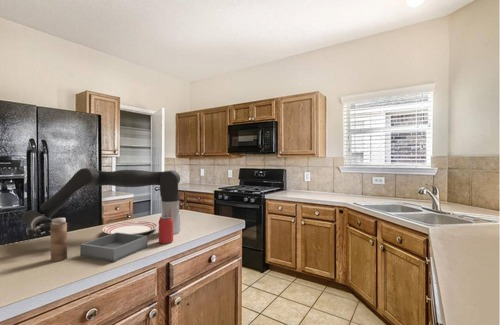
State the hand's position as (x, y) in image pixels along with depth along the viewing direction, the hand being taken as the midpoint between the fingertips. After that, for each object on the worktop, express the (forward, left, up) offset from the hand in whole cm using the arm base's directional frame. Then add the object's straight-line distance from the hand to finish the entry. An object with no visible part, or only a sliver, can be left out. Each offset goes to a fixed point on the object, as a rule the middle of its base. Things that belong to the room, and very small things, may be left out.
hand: (52, 231), depth 108 cm
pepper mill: (+3, +9, -9) cm, 13 cm away
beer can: (-29, +35, -10) cm, 46 cm away
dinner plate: (-37, +6, -10) cm, 38 cm away
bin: (-11, +23, -9) cm, 27 cm away
